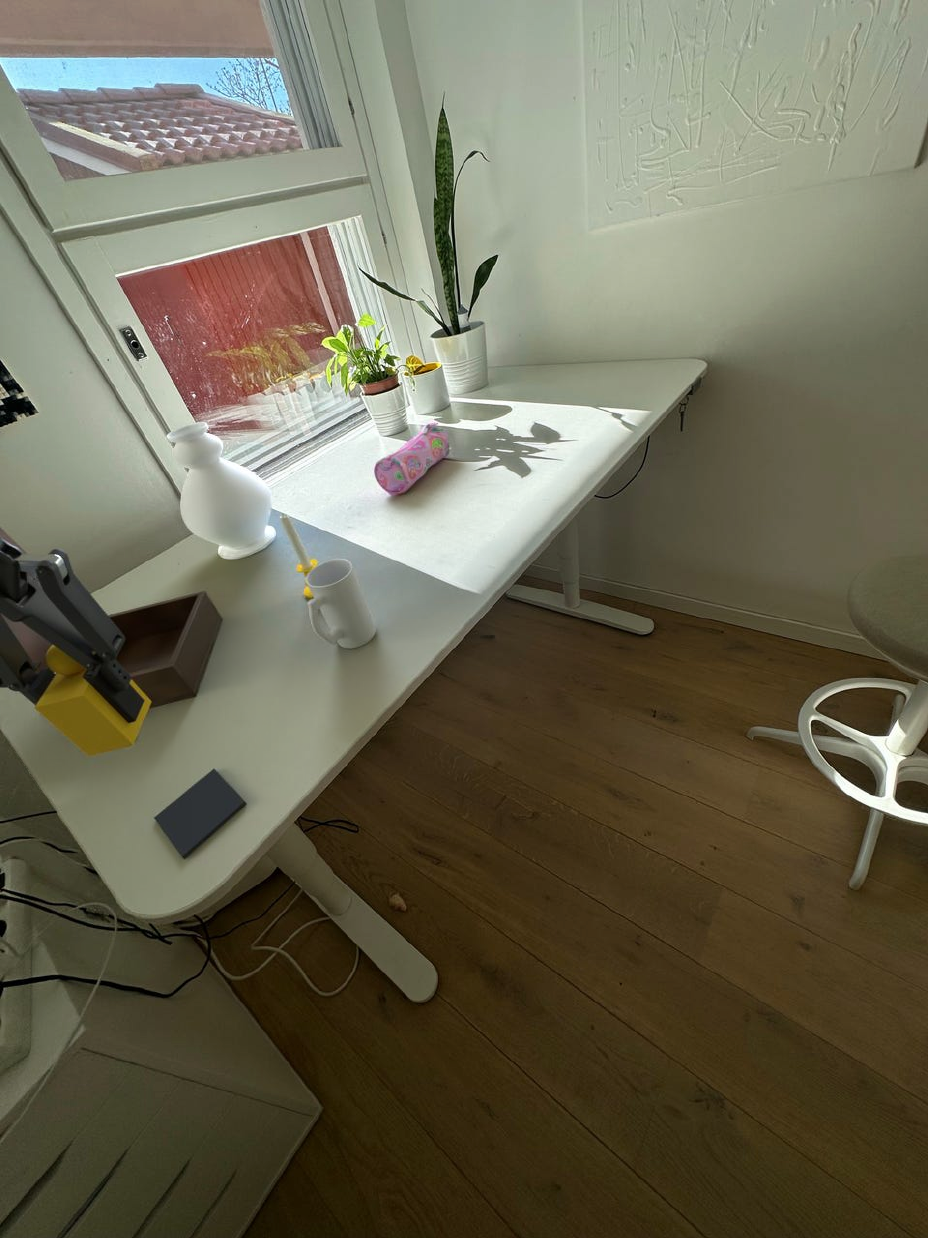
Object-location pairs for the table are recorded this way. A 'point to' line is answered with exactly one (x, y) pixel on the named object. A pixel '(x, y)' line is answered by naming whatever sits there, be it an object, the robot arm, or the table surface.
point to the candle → (299, 551)
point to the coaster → (199, 812)
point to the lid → (25, 635)
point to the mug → (339, 604)
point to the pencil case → (412, 460)
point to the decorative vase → (221, 495)
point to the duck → (85, 709)
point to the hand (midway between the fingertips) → (111, 717)
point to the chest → (168, 645)
